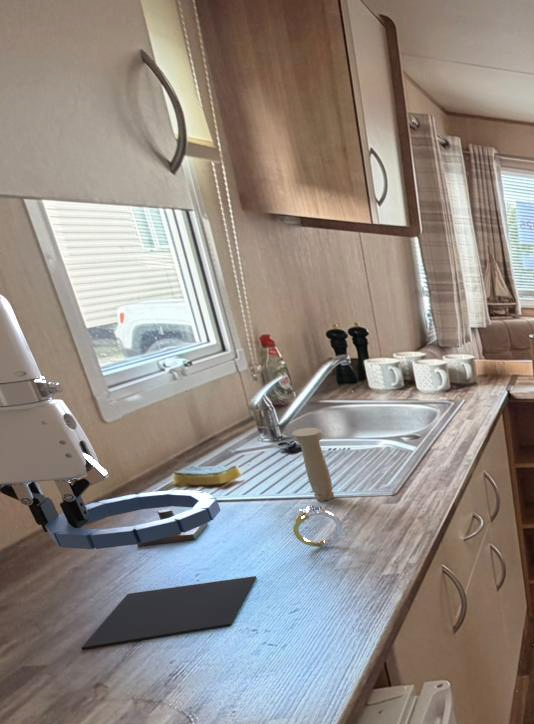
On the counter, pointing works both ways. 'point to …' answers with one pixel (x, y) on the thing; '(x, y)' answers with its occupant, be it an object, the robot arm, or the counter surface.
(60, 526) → the ring
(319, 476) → the handle
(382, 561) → the counter surface
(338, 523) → the ring
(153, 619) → the mat
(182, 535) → the dowel stand
